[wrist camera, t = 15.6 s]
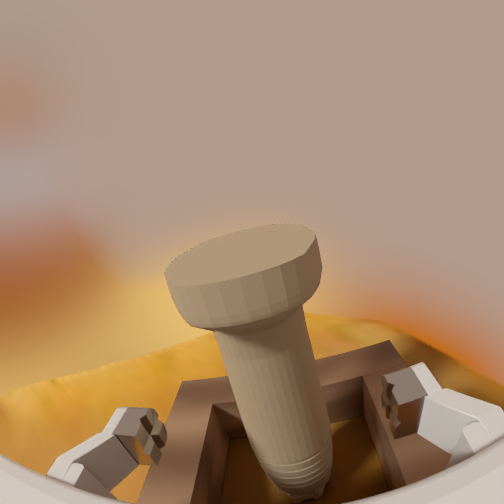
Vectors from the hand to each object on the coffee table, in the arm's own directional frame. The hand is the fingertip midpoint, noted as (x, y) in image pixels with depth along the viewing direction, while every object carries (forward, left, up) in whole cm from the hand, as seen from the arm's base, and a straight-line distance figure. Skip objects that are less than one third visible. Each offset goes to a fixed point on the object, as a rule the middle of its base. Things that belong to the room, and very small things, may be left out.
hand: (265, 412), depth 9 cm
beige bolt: (+2, 0, -10) cm, 10 cm away
